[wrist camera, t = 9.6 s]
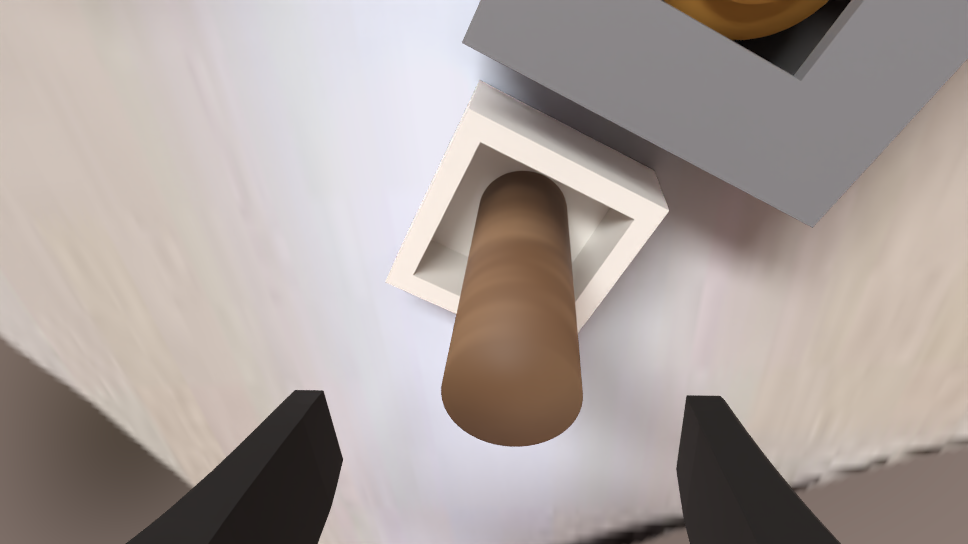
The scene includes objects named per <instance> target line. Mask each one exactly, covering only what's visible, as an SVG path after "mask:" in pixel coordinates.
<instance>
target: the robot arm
mask: <svg viewBox="0 0 968 544" xmlns="http://www.w3.org/2000/svg"><path fill="white" fill-rule="evenodd" d="M342 462H343V458H342V454H341V451H340V447H339V444H338V440H337V437H336V433H335V430H334V426H333V423H332V419H331V416H330V412H329V409H328V405H327V402H326V398H325V395H324V391H318V390H295V391H294V392H293V393H292V394H291V395H290V396H288V397H287V398H286V399H285V400H284V401H283V402H282V403H281V404H280V405H279V406H278V407H277V408H276V409H275V410H274V411H273V412H272V413H271V414H270V415H269V416H268V417H267V418H266V419H265V420H264V421H263V422H262V423H261V424H260V425H259V426H258V427H257V428H256V429H255V430H254V431H253V432H252V433H251V434H250V435H249V436H248V437H247V438H246V439H245V440H244V441H243V442H242V443H241V444H240V445H239V446H238V447H237V448H236V449H235V450H234V451H233V452H232V453H230V454H229V455H228V456H227V457H226V458H225V459H224V460H223V461H222V462H221V463H220V464H219V465H218V466H217V467H216V468H215V469H214V470H213V471H212V472H210V473H209V474H208V475H207V476H206V477H205V478H204V479H203V480H201V481H200V482H199V483H198V484H197V485H196V486H195V487H194V488H192V489H191V490H190V491H189V492H188V493H187V494H186V495H185V496H184V497H182V498H181V499H180V500H179V501H178V502H177V503H176V504H175V505H173V506H172V507H171V508H170V509H169V510H167V511H166V512H165V513H164V514H163V515H161V516H160V517H159V518H158V519H157V520H155V521H154V522H153V523H152V524H151V525H149V526H148V527H147V528H145V529H144V530H143V531H142V532H140V533H139V534H138V535H137V536H135V537H134V538H132V539H131V540H130V541H129V542H127V543H126V544H318V541H319V538H320V536H321V533H322V530H323V528H324V525H325V523H326V520H327V517H328V514H329V512H330V509H331V506H332V502H333V498H334V495H335V491H336V487H337V483H338V479H339V474H340V470H341V466H342ZM676 470H677V477H678V484H679V491H680V498H681V504H682V510H683V516H684V522H685V526H686V530H687V534H688V537H689V541H690V544H841V543H840V542H839V541H838V540H837V539H836V538H835V537H834V536H833V535H832V534H831V532H830V531H829V530H828V529H827V528H826V527H825V526H824V525H823V524H822V523H821V522H820V520H819V519H818V518H817V517H816V516H815V515H814V514H813V513H812V512H811V510H810V509H809V508H808V507H807V506H806V505H805V504H804V502H803V501H802V500H801V499H800V498H799V496H798V495H797V494H796V493H795V492H794V490H793V489H792V488H791V487H790V486H789V484H788V483H787V482H786V481H785V480H784V478H783V477H782V476H781V475H780V473H779V472H778V471H777V470H776V469H775V467H774V466H773V465H772V464H771V462H770V461H769V460H768V459H767V457H766V456H765V455H764V453H763V452H762V451H761V449H760V448H759V447H758V445H757V444H756V443H755V442H754V440H753V439H752V438H751V436H750V435H749V434H748V432H747V431H746V429H745V428H744V427H743V425H742V424H741V423H740V421H739V420H738V418H737V417H736V416H735V414H734V413H733V411H732V410H731V409H730V407H729V406H728V404H727V403H726V401H725V400H724V399H723V398H722V397H721V396H687V397H686V404H685V411H684V418H683V425H682V432H681V439H680V446H679V454H678V461H677V468H676Z"/></svg>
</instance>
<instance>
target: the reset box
mask: <svg viewBox="0 0 968 544" xmlns="http://www.w3.org/2000/svg"><path fill="white" fill-rule="evenodd" d="M462 43H463V44H465V45H467V46H469V47H471V48H473V49H475V50H476V51H478V52H480V53H482V54H484V55H486V56H488V57H490V58H492V59H494V60H495V61H497V62H499V63H501V64H503V65H505V66H507V67H509V68H511V69H513V70H514V71H516V72H518V73H520V74H522V75H524V76H526V77H528V78H530V79H531V80H533V81H535V82H537V83H539V84H541V85H543V86H545V87H547V88H549V89H550V90H552V91H554V92H556V93H558V94H560V95H562V96H564V97H566V98H568V99H569V100H571V101H573V102H575V103H577V104H579V105H581V106H583V107H585V108H586V109H588V110H590V111H592V112H594V113H596V114H598V115H600V116H602V117H604V118H605V119H607V120H609V121H611V122H613V123H615V124H617V125H619V126H621V127H623V128H624V129H626V130H628V131H630V132H632V133H634V134H636V135H638V136H640V137H641V138H643V139H645V140H647V141H649V142H651V143H653V144H655V145H657V146H659V147H660V148H662V149H664V150H666V151H668V152H670V153H672V154H674V155H676V156H678V157H679V158H681V159H683V160H685V161H687V162H689V163H691V164H693V165H695V166H696V167H698V168H700V169H702V170H704V171H706V172H708V173H710V174H712V175H714V176H715V177H717V178H719V179H721V180H723V181H725V182H727V183H729V184H731V185H733V186H734V187H736V188H738V189H740V190H742V191H744V192H746V193H748V194H750V195H752V196H753V197H755V198H757V199H759V200H761V201H763V202H765V203H767V204H769V205H770V206H772V207H774V208H776V209H778V210H780V211H782V212H784V213H786V214H788V215H789V216H791V217H793V218H795V219H797V220H799V221H801V222H803V223H805V224H807V225H808V226H810V227H812V228H813V227H814V226H815V225H816V223H817V222H818V221H819V220H820V219H821V218H822V217H823V216H824V215H825V214H826V213H827V211H828V210H829V209H830V208H831V207H832V206H833V205H834V204H835V203H836V202H837V201H838V199H839V198H840V197H841V196H842V195H843V194H844V193H845V192H846V191H847V190H848V189H849V187H850V186H851V185H852V184H853V183H854V182H855V181H856V180H857V179H858V178H859V177H860V175H861V174H862V173H863V172H864V171H865V170H866V169H867V168H868V167H869V166H870V165H871V163H872V162H873V161H874V160H875V159H876V158H877V157H878V156H879V155H880V154H881V153H882V151H883V150H884V149H885V148H886V147H887V146H888V145H889V144H890V143H891V142H892V141H893V139H894V138H895V137H896V136H897V135H898V134H899V133H900V132H901V131H902V130H903V129H904V127H905V126H906V125H907V124H908V123H909V122H910V121H911V120H912V119H913V118H914V117H915V115H916V114H917V113H918V112H919V111H920V110H921V109H922V108H923V107H924V106H925V105H926V103H927V102H928V101H929V100H930V99H931V98H932V97H933V96H934V95H935V94H936V93H937V91H938V90H939V89H940V88H941V87H942V86H943V85H944V84H945V83H946V82H947V81H948V79H949V78H950V77H951V76H952V75H953V74H954V73H955V72H956V71H957V70H958V69H959V68H960V66H961V65H962V64H963V63H964V62H965V61H966V60H967V59H968V0H851V1H850V3H849V4H848V5H847V7H846V8H845V9H844V11H843V12H842V13H841V14H840V16H839V17H838V18H837V20H836V21H835V22H834V24H833V25H832V26H831V27H830V29H829V30H828V31H827V33H826V34H825V35H824V37H823V38H822V39H821V41H820V42H819V43H818V44H817V46H816V47H815V48H814V50H813V51H812V52H811V54H810V55H809V56H808V57H807V59H806V60H805V61H804V63H803V64H802V65H801V67H800V68H799V69H798V70H797V72H796V73H795V74H794V76H793V75H792V74H790V73H788V72H786V71H785V70H783V69H781V68H779V67H778V66H776V65H774V64H772V63H771V62H769V61H767V60H765V59H764V58H762V57H760V56H758V55H757V54H755V53H753V52H751V51H750V50H748V49H746V48H744V47H743V46H741V45H739V44H737V43H736V42H734V41H732V40H730V39H729V38H727V37H725V36H723V35H722V34H720V33H718V32H716V31H715V30H713V29H711V28H709V27H708V26H706V25H704V24H702V23H701V22H699V21H697V20H696V19H694V18H692V17H690V16H689V15H687V14H685V13H683V12H682V11H680V10H678V9H676V8H675V7H673V6H671V5H669V4H668V3H666V2H664V1H662V0H481V1H480V3H479V5H478V8H477V10H476V12H475V14H474V17H473V19H472V21H471V23H470V26H469V28H468V30H467V32H466V35H465V37H464V39H463V41H462Z"/></svg>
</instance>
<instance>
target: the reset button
mask: <svg viewBox="0 0 968 544" xmlns="http://www.w3.org/2000/svg"><path fill="white" fill-rule="evenodd" d="M663 1H664V2H666V3H668V4H669V5H671V6H673V7H675V8H676V9H678V10H680V11H682V12H683V13H685V14H687V15H689V16H690V17H692V18H694V19H696V20H697V21H699V22H701V23H702V24H704V25H706V26H708V27H709V28H711V29H713V30H715V31H716V32H718V33H720V34H722V35H723V36H725V37H727V38H729V39H730V40H747V39H755V38H760V37H764V36H769V35H772V34H775V33H778V32H780V31H783V30H786V29H788V28H790V27H792V26H794V25H796V24H797V23H799V22H801V21H803V20H804V19H806V18H807V17H809V16H810V15H812V14H813V13H814V12H816V11H817V10H818V9H819V8H821V7H822V6H823V5H824V4H826V3H827V2H828V1H829V0H663Z"/></svg>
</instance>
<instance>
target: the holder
mask: <svg viewBox="0 0 968 544" xmlns="http://www.w3.org/2000/svg"><path fill="white" fill-rule="evenodd" d="M514 171H531V172H536V173H539V174H542V175H544V176H546V177H547V178H549V179H551V180H552V181H553V182H554V183H555V184H556V185H557V186H558V187H559V188H560V190H561V191H562V193H563V195H564V197H565V200H566V204H567V212H568V224H569V236H570V248H571V260H572V272H573V284H574V296H575V308H576V320H577V331H578V332H579V331H580V330H581V328H582V327H583V326H584V324H585V323H586V322H587V320H588V319H589V318H590V316H591V315H592V314H593V312H594V311H595V310H596V308H597V307H598V306H599V304H600V303H601V302H602V300H603V299H604V297H605V296H606V295H607V293H608V292H609V291H610V289H611V288H612V287H613V285H614V284H615V283H616V281H617V280H618V279H619V277H620V276H621V275H622V273H623V272H624V271H625V269H626V268H627V267H628V265H629V264H630V263H631V261H632V260H633V259H634V257H635V256H636V255H637V253H638V252H639V251H640V249H641V248H642V247H643V245H644V244H645V242H646V241H647V240H648V238H649V237H650V236H651V234H652V233H653V232H654V230H655V229H656V228H657V226H658V225H659V224H660V222H661V221H662V220H663V218H664V217H665V216H666V214H667V213H668V212H669V209H668V206H667V203H666V201H665V198H664V195H663V193H662V190H661V187H660V185H659V182H658V179H657V177H656V174H655V171H654V170H652V169H650V168H648V167H647V166H645V165H643V164H641V163H639V162H637V161H635V160H633V159H631V158H629V157H627V156H625V155H623V154H621V153H620V152H618V151H616V150H614V149H612V148H610V147H608V146H606V145H604V144H602V143H600V142H598V141H596V140H595V139H593V138H591V137H589V136H587V135H585V134H583V133H581V132H579V131H577V130H575V129H573V128H571V127H569V126H568V125H566V124H564V123H562V122H560V121H558V120H556V119H554V118H552V117H550V116H548V115H546V114H544V113H542V112H541V111H539V110H537V109H535V108H533V107H531V106H529V105H527V104H525V103H523V102H521V101H519V100H517V99H516V98H514V97H512V96H510V95H508V94H506V93H504V92H502V91H500V90H498V89H496V88H494V87H492V86H490V85H489V84H487V83H485V82H483V81H481V80H479V82H478V84H477V86H476V88H475V90H474V93H473V95H472V97H471V99H470V101H469V103H468V105H467V107H466V109H465V112H464V114H463V116H462V118H461V120H460V122H459V124H458V126H457V128H456V130H455V133H454V135H453V137H452V139H451V141H450V143H449V145H448V147H447V149H446V152H445V154H444V156H443V158H442V160H441V162H440V164H439V166H438V168H437V171H436V173H435V175H434V177H433V179H432V181H431V183H430V185H429V187H428V190H427V192H426V194H425V196H424V198H423V200H422V202H421V204H420V206H419V209H418V211H417V213H416V215H415V217H414V219H413V221H412V223H411V225H410V228H409V230H408V232H407V234H406V236H405V238H404V240H403V243H402V245H401V247H400V250H399V252H398V254H397V256H396V259H395V261H394V263H393V266H392V268H391V270H390V273H389V275H388V277H387V279H386V283H388V284H390V285H393V286H395V287H397V288H399V289H402V290H404V291H406V292H408V293H411V294H413V295H415V296H417V297H420V298H422V299H424V300H426V301H428V302H431V303H433V304H435V305H437V306H440V307H442V308H444V309H446V310H449V311H451V312H453V313H455V314H457V309H458V304H459V300H460V295H461V290H462V285H463V281H464V276H465V271H466V266H467V261H468V257H469V252H470V247H471V242H472V237H473V233H474V228H475V223H476V218H477V213H478V209H479V204H480V200H481V197H482V195H483V193H484V191H485V189H486V188H487V187H488V186H489V185H490V184H491V182H493V181H494V180H495V179H497V178H498V177H500V176H502V175H504V174H506V173H510V172H514Z"/></svg>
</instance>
